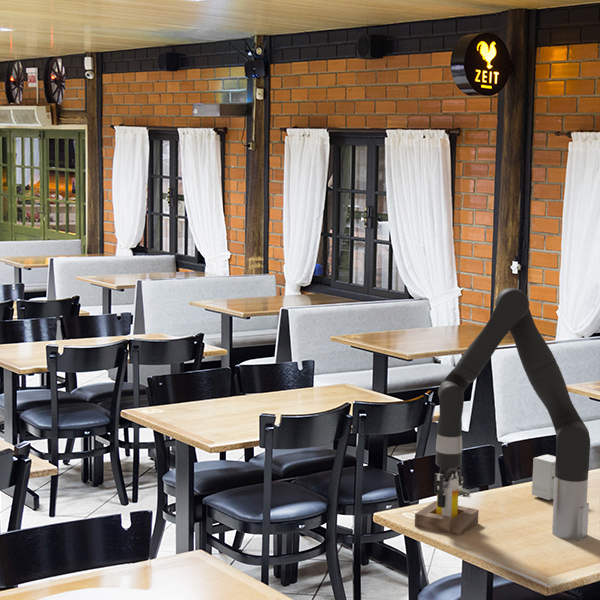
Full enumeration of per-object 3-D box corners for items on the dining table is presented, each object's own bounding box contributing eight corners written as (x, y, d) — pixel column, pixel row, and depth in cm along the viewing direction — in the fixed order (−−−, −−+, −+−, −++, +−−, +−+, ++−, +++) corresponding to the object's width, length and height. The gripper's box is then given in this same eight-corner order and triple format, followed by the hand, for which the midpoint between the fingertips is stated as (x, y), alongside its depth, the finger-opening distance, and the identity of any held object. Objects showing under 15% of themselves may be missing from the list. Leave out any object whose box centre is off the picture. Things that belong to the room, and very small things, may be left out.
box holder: (478, 524, 288) (478, 509, 287) (459, 538, 276) (459, 523, 275) (434, 515, 295) (435, 501, 295) (414, 528, 283) (415, 513, 283)
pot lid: (467, 499, 312) (467, 484, 311) (433, 492, 318) (433, 477, 318) (482, 490, 322) (482, 475, 321) (449, 483, 328) (449, 469, 328)
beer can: (456, 523, 288) (458, 474, 286) (457, 530, 282) (459, 480, 280) (435, 522, 289) (437, 473, 287) (436, 529, 283) (438, 479, 281)
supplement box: (549, 500, 311) (551, 462, 309) (531, 494, 316) (532, 457, 315) (563, 496, 315) (565, 458, 314) (544, 490, 321) (546, 453, 319)
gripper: (450, 457, 275) (449, 512, 277) (470, 446, 287) (468, 499, 289) (426, 452, 279) (425, 507, 281) (447, 442, 291) (445, 494, 293)
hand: (447, 503), depth 285 cm, fingers open, 8 cm apart
